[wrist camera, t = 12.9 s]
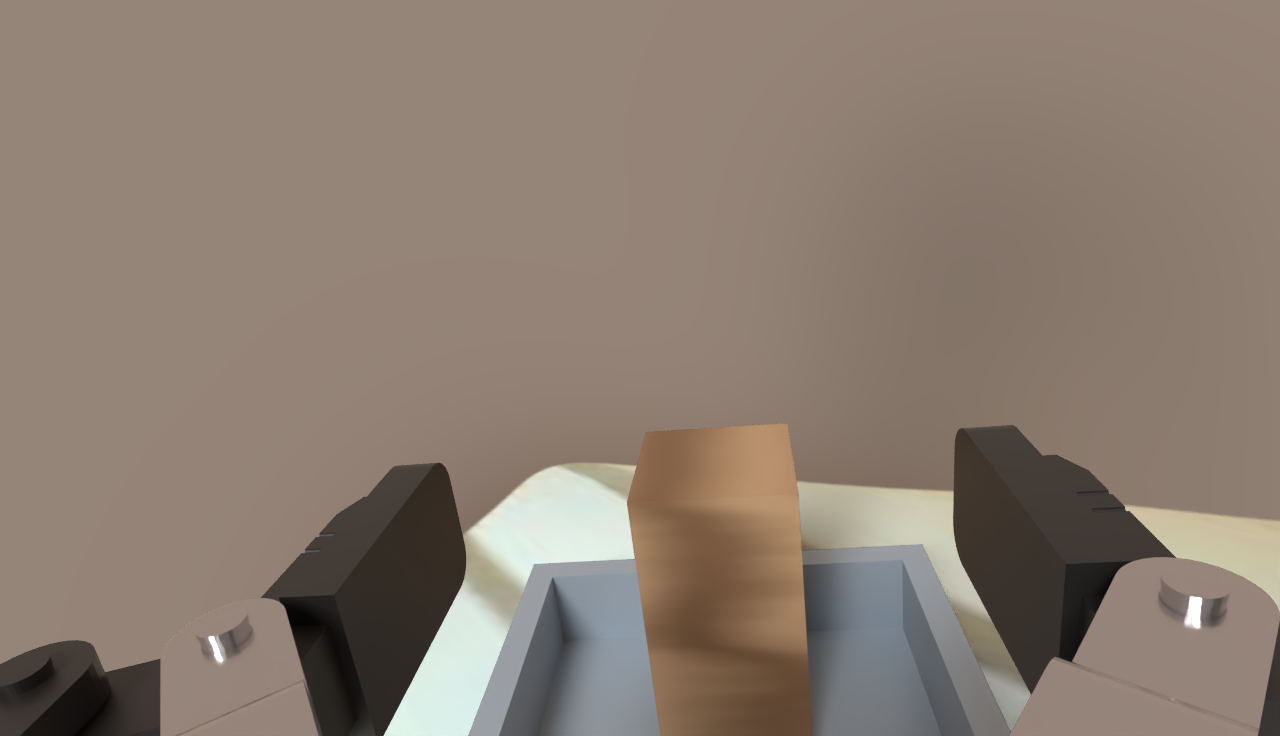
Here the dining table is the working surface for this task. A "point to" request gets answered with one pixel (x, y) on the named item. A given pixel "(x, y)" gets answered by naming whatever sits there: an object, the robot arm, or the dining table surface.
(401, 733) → the dining table surface
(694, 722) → the walnut block
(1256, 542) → the dining table surface
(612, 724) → the tray
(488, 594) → the dining table surface
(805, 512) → the dining table surface
